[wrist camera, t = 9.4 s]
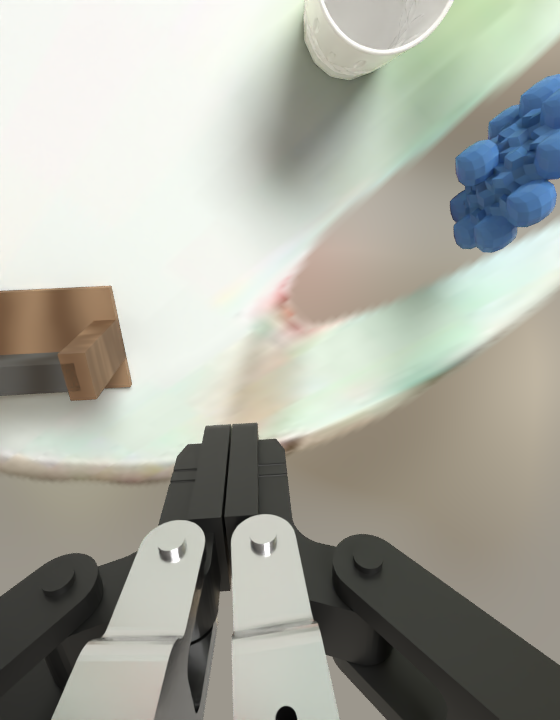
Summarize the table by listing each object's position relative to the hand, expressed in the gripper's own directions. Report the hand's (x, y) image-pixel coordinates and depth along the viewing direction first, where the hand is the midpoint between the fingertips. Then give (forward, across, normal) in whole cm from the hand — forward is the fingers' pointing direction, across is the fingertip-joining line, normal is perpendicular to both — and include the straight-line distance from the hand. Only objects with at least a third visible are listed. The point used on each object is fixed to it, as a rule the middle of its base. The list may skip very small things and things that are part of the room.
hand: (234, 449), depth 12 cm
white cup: (+27, -8, -17) cm, 33 cm away
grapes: (+27, -18, -7) cm, 34 cm away
